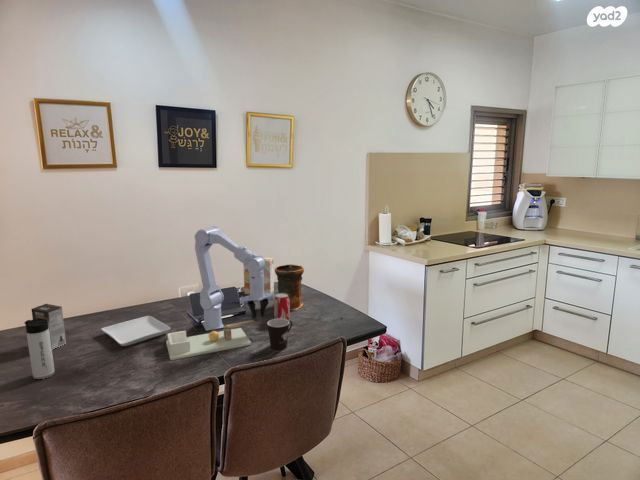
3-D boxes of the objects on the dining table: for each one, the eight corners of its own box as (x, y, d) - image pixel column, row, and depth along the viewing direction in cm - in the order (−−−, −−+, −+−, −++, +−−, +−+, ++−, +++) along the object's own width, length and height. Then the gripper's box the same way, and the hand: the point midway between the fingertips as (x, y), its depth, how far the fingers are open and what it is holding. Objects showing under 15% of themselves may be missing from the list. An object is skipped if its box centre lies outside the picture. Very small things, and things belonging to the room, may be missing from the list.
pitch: (166, 343, 167) (166, 340, 167) (240, 329, 180) (240, 327, 180) (170, 360, 153) (170, 357, 153) (251, 344, 166) (251, 342, 165)
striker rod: (223, 335, 171) (222, 313, 169) (260, 329, 178) (259, 307, 176) (226, 340, 167) (225, 317, 165) (263, 333, 173) (263, 311, 171)
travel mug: (38, 371, 145) (30, 317, 141) (58, 370, 146) (51, 316, 142) (28, 380, 139) (19, 324, 135) (48, 380, 139) (40, 324, 136)
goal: (168, 343, 165) (167, 333, 164) (186, 339, 168) (185, 330, 167) (171, 354, 155) (170, 344, 154) (190, 351, 158) (189, 341, 157)
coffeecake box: (244, 294, 227) (242, 259, 223) (248, 290, 234) (247, 256, 230) (270, 295, 224) (269, 260, 220) (274, 291, 231) (273, 257, 227)
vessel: (304, 310, 202) (302, 271, 198) (275, 311, 202) (273, 271, 198) (305, 300, 216) (304, 263, 212) (278, 301, 216) (276, 264, 212)
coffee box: (35, 347, 163) (29, 308, 160) (50, 340, 169) (45, 303, 166) (52, 350, 160) (47, 311, 157) (67, 343, 166) (62, 305, 163)
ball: (208, 339, 168) (207, 330, 167) (218, 337, 170) (217, 328, 169) (210, 343, 164) (209, 334, 164) (220, 341, 166) (219, 332, 165)
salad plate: (172, 334, 176) (172, 327, 175) (121, 351, 161) (120, 343, 160) (149, 321, 190) (149, 314, 189) (100, 335, 175) (99, 328, 174)
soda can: (287, 323, 187) (286, 298, 184) (272, 322, 188) (271, 297, 186) (291, 317, 193) (291, 293, 191) (277, 316, 195) (276, 292, 193)
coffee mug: (272, 353, 158) (271, 328, 156) (264, 344, 166) (264, 320, 164) (300, 347, 164) (299, 323, 162) (291, 338, 171) (291, 315, 169)
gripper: (242, 291, 164) (243, 323, 167) (276, 286, 170) (277, 317, 173) (237, 286, 170) (239, 317, 173) (271, 281, 176) (272, 311, 179)
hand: (257, 317), depth 173 cm, fingers closed on striker rod, 3 cm apart
